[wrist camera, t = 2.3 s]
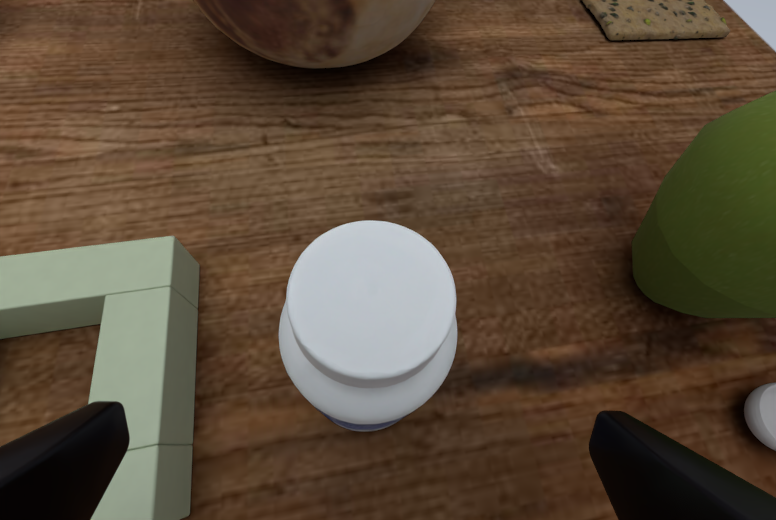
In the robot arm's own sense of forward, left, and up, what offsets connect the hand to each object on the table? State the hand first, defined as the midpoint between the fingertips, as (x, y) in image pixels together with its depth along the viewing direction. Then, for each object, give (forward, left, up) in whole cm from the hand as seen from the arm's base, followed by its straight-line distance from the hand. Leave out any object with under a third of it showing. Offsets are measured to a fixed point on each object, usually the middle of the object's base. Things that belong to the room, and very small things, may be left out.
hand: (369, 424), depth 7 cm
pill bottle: (+3, -1, -10) cm, 11 cm away
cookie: (+32, -32, -10) cm, 46 cm away
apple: (+5, -18, -10) cm, 21 cm away
